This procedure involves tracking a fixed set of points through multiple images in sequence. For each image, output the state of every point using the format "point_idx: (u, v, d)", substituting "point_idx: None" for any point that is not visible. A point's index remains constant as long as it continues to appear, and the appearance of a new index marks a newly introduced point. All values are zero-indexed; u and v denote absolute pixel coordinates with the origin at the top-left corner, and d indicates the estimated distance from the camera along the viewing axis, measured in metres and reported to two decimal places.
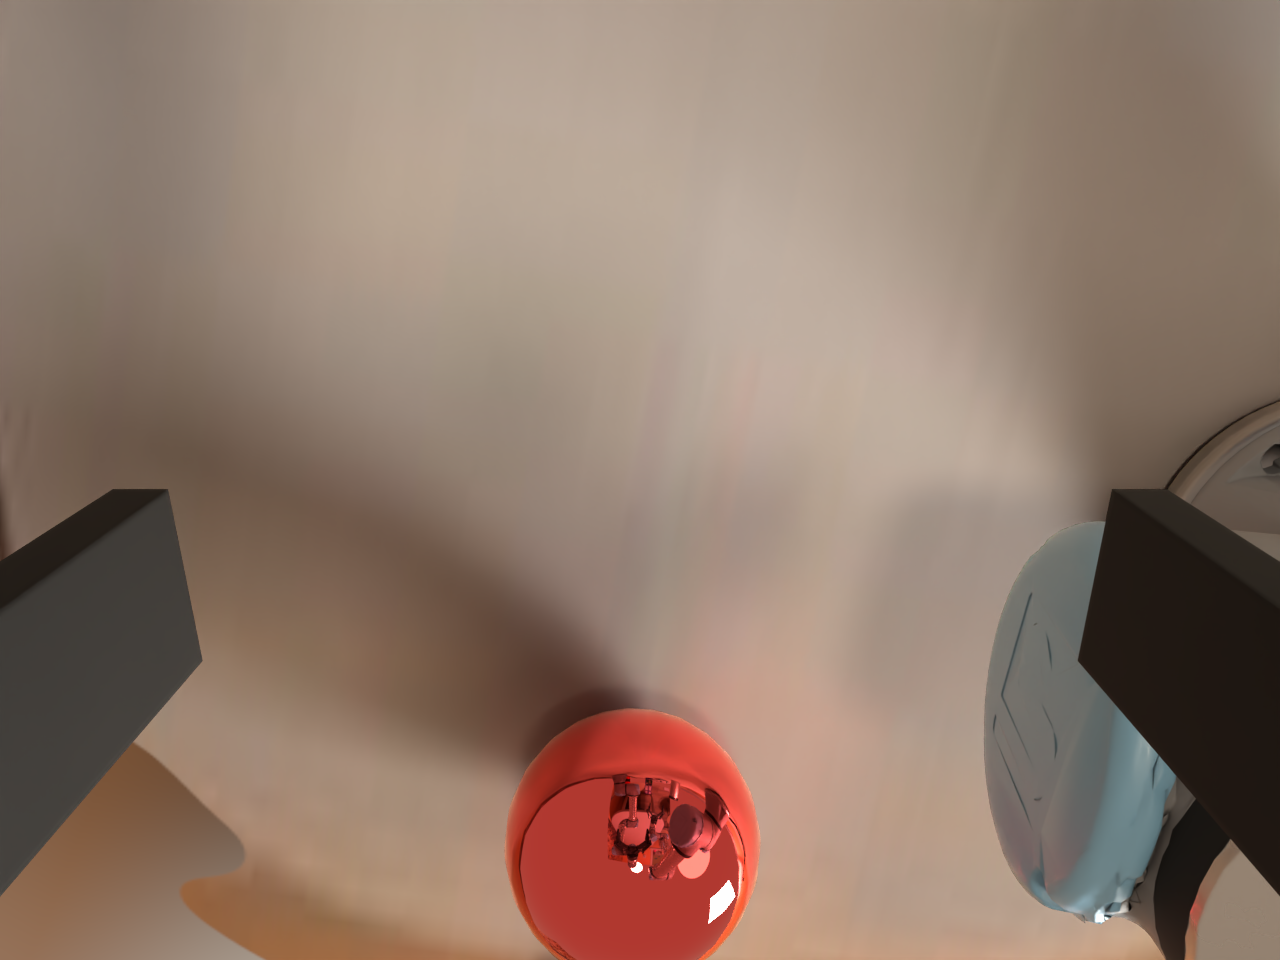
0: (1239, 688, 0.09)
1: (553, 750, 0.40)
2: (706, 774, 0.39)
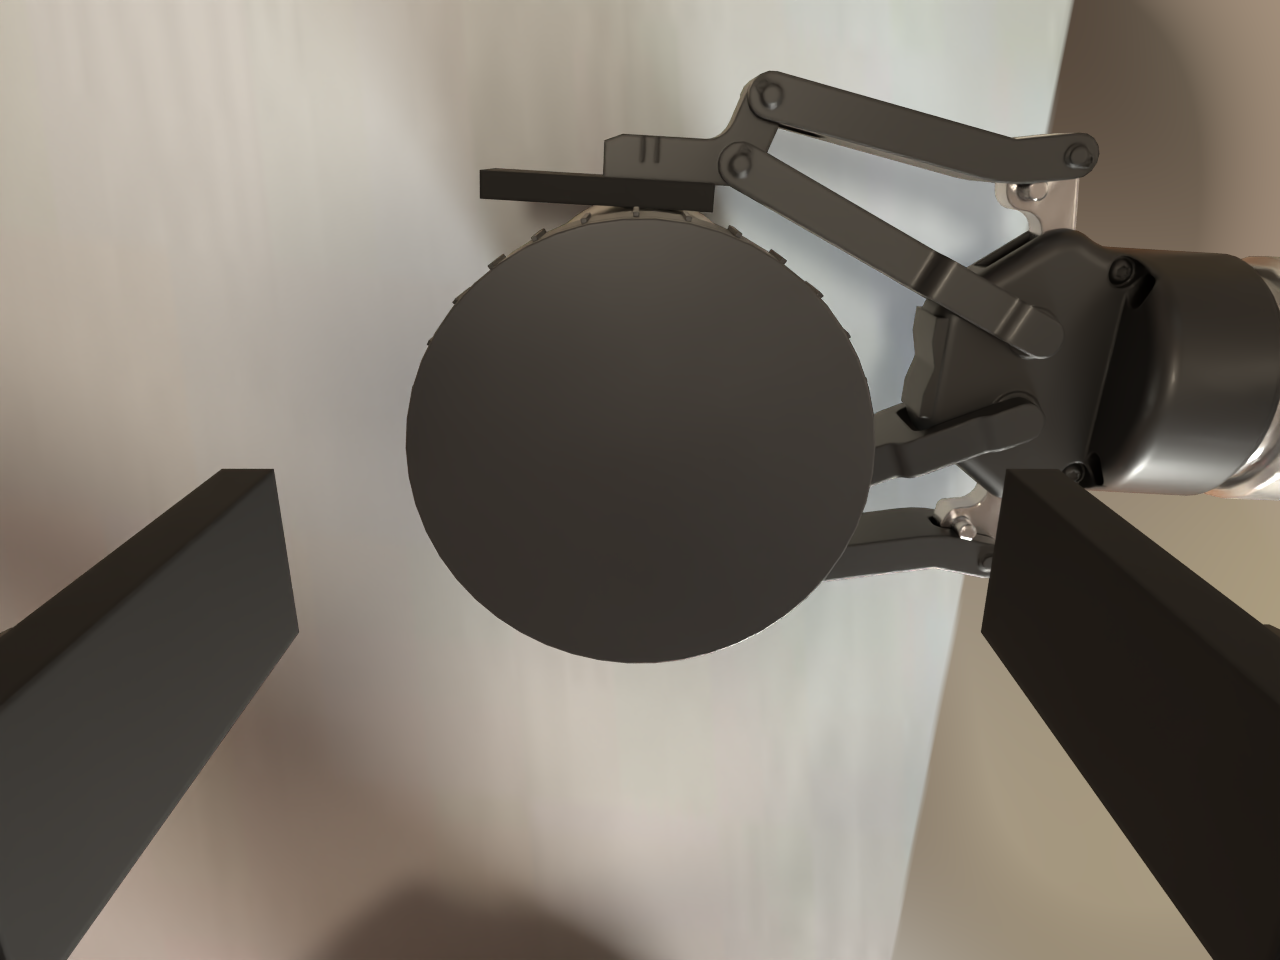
0: (1098, 648, 0.10)
1: None
2: None
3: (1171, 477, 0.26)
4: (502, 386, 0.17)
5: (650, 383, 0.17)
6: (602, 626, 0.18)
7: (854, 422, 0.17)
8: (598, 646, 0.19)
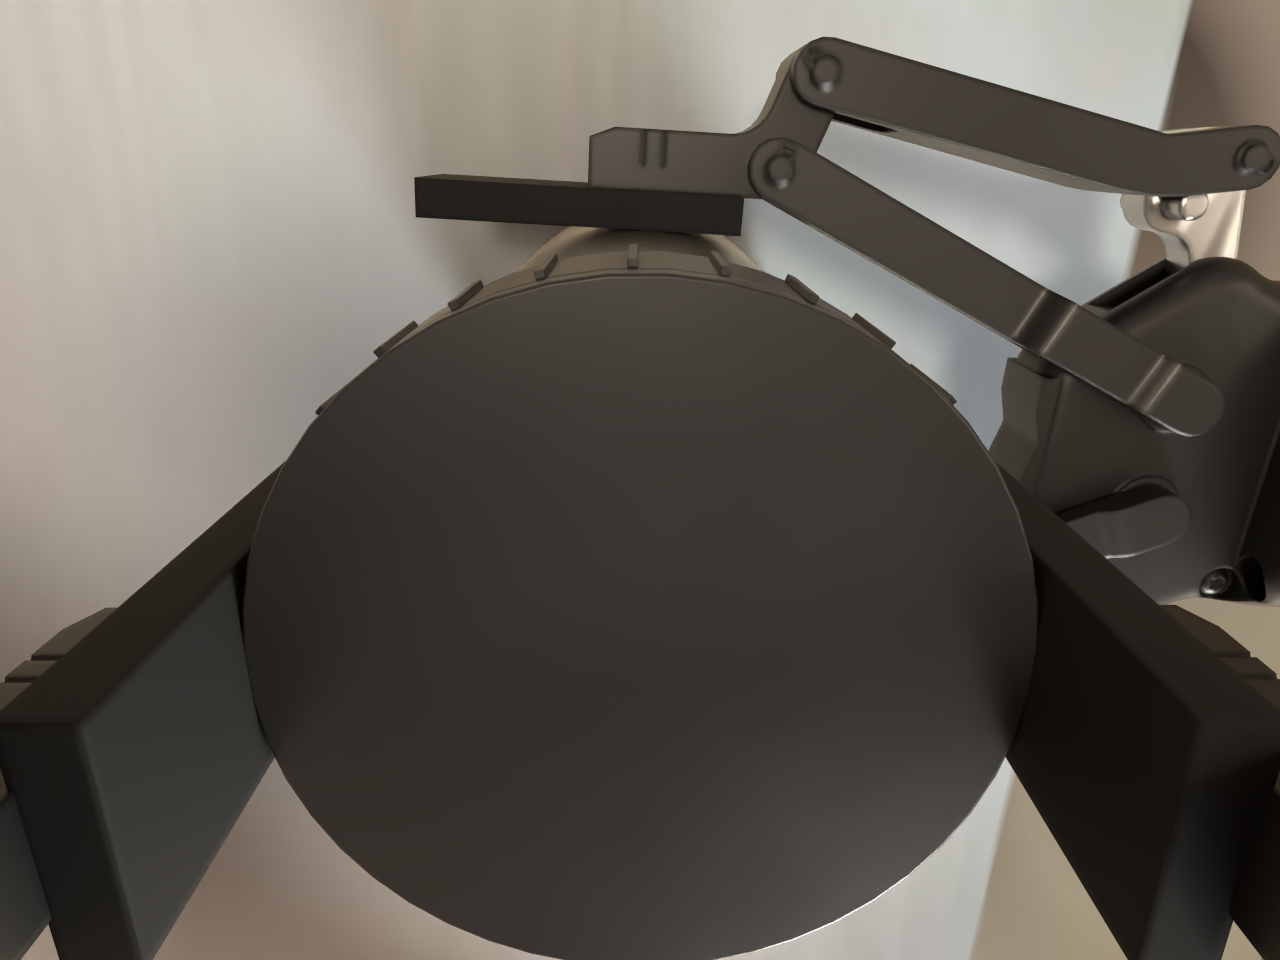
0: None
1: None
2: None
3: None
4: (402, 556, 0.10)
5: (657, 551, 0.10)
6: (579, 915, 0.11)
7: (1004, 613, 0.10)
8: (573, 943, 0.12)
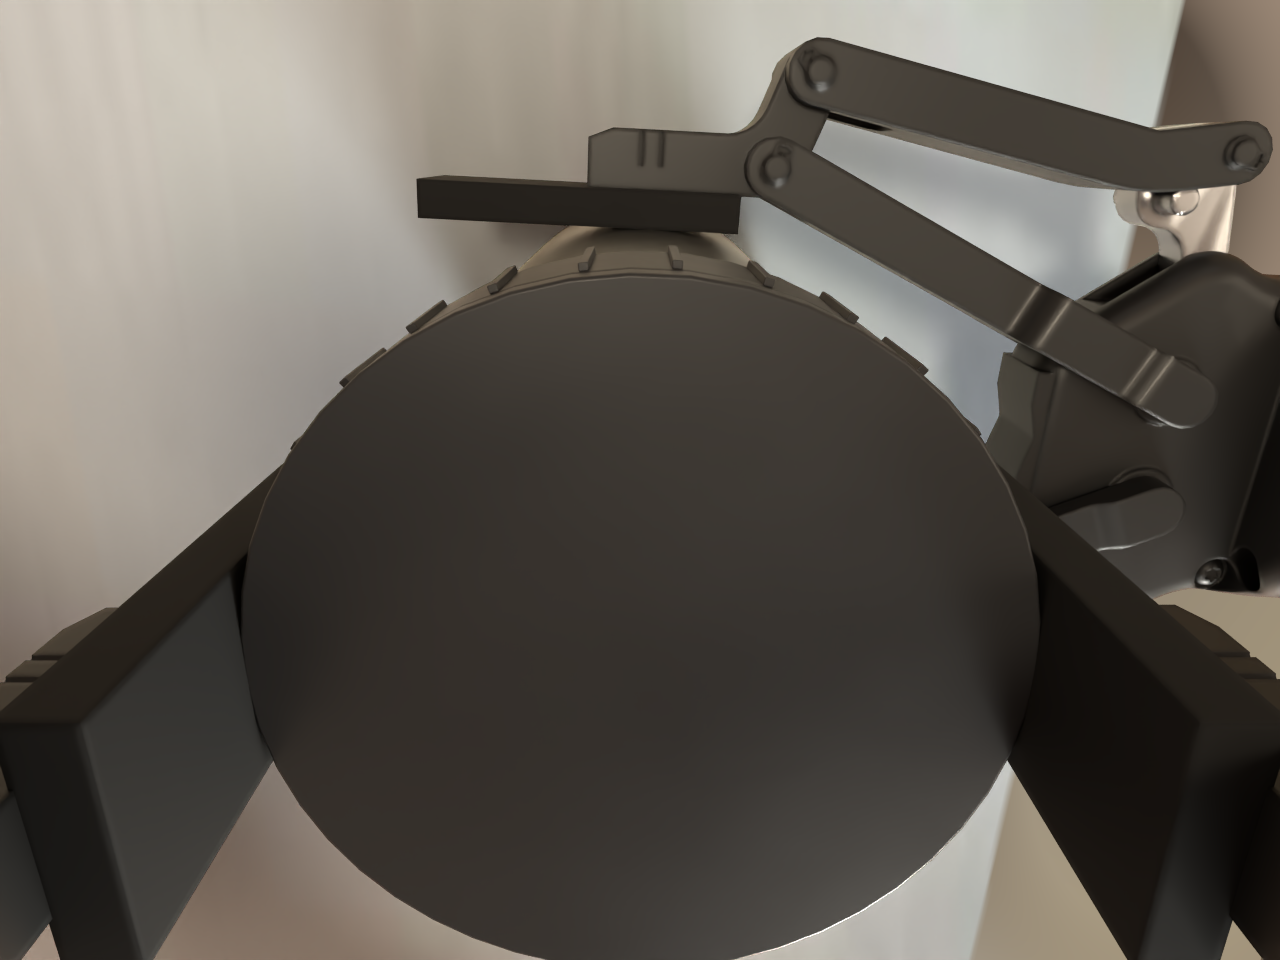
0: None
1: None
2: None
3: None
4: (566, 872, 0.11)
5: (503, 688, 0.10)
6: (964, 676, 0.10)
7: (474, 347, 0.09)
8: (1007, 675, 0.10)
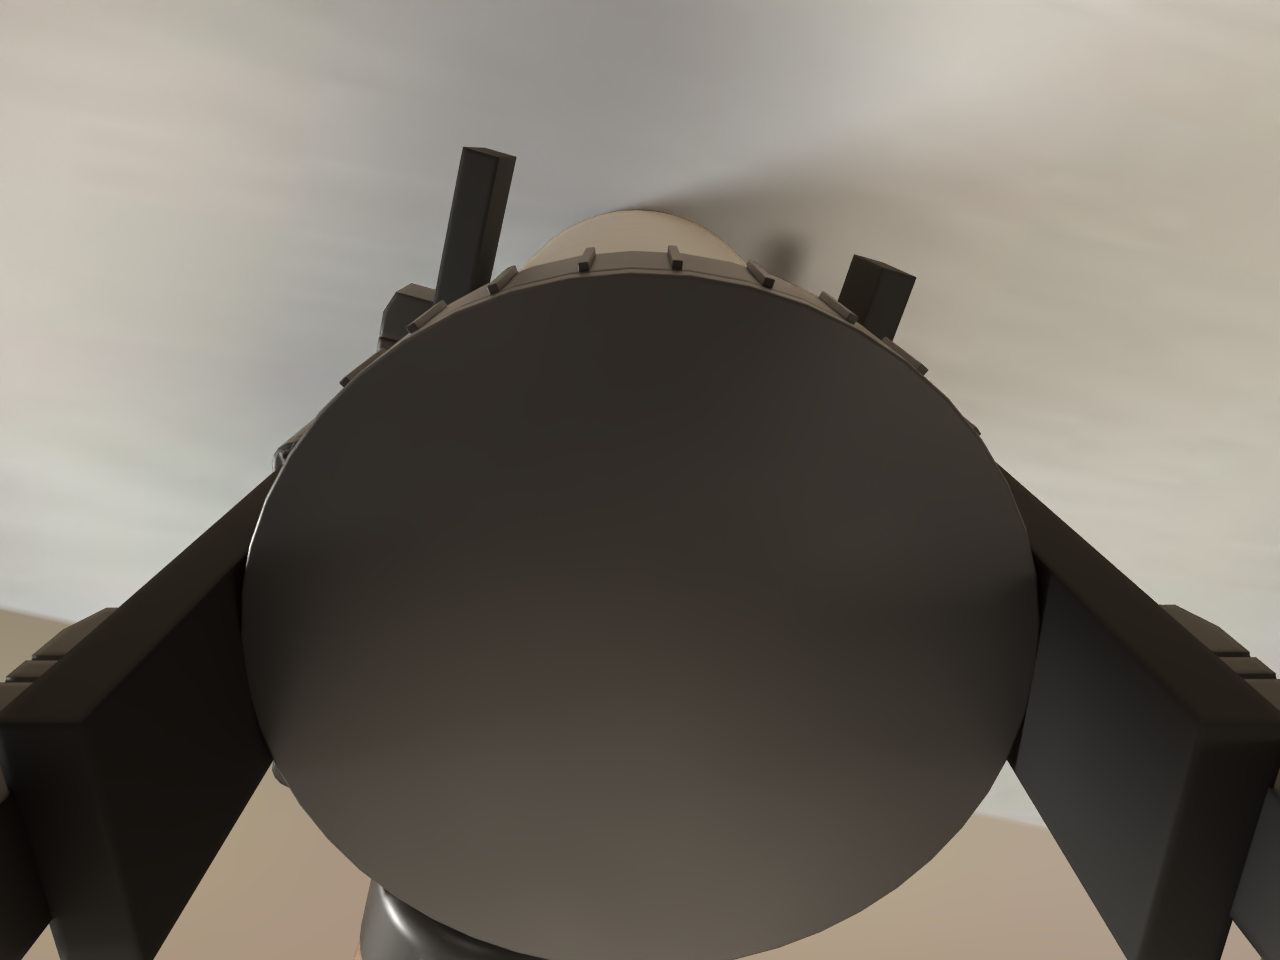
0: None
1: None
2: None
3: None
4: (566, 871, 0.11)
5: (504, 687, 0.10)
6: (964, 676, 0.10)
7: (474, 347, 0.09)
8: (1006, 675, 0.10)
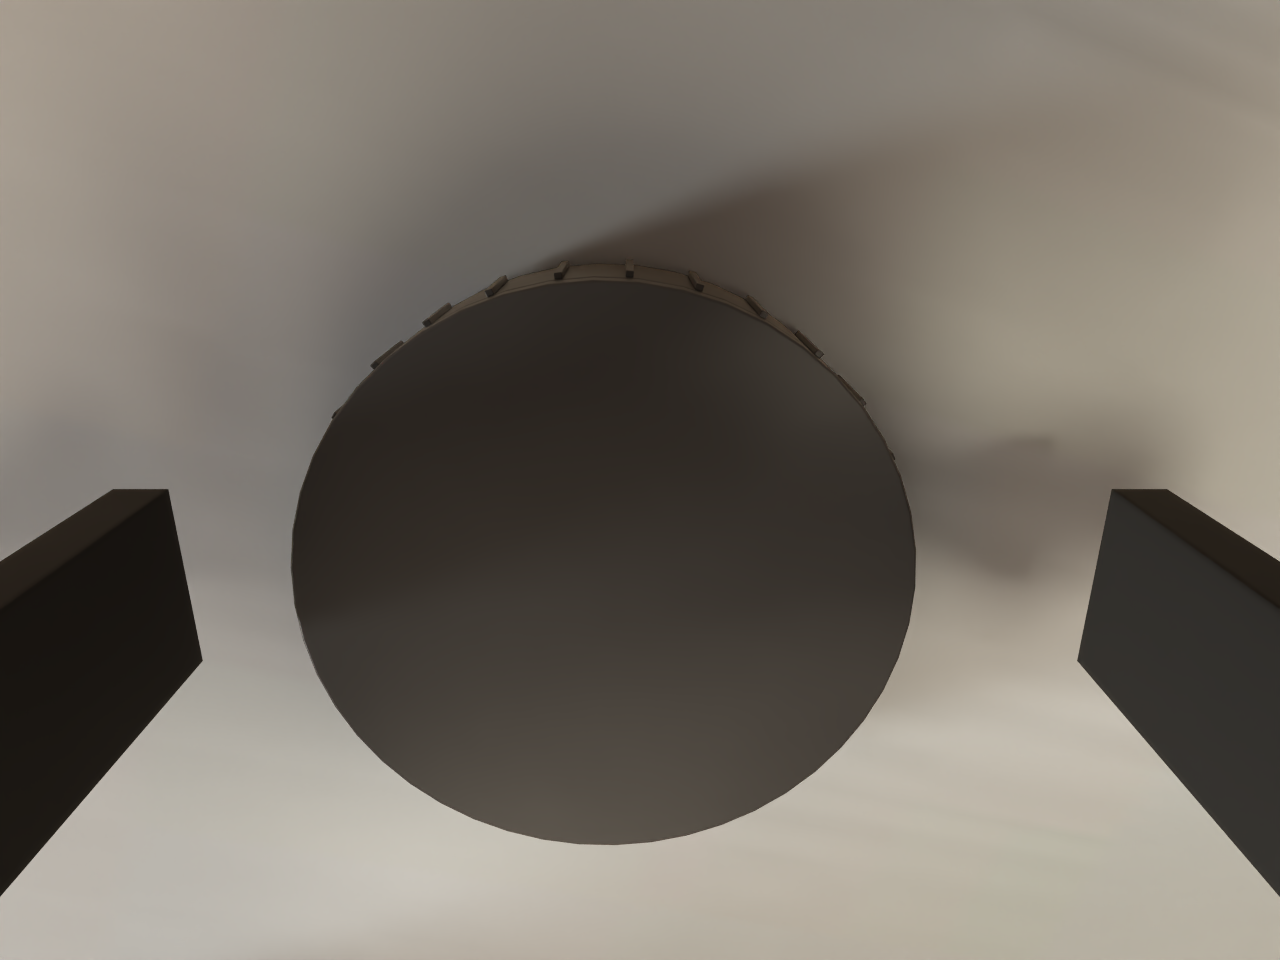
0: (1239, 688, 0.09)
1: None
2: None
3: None
4: (549, 760, 0.14)
5: (498, 606, 0.13)
6: (859, 594, 0.13)
7: (475, 336, 0.12)
8: (892, 593, 0.13)
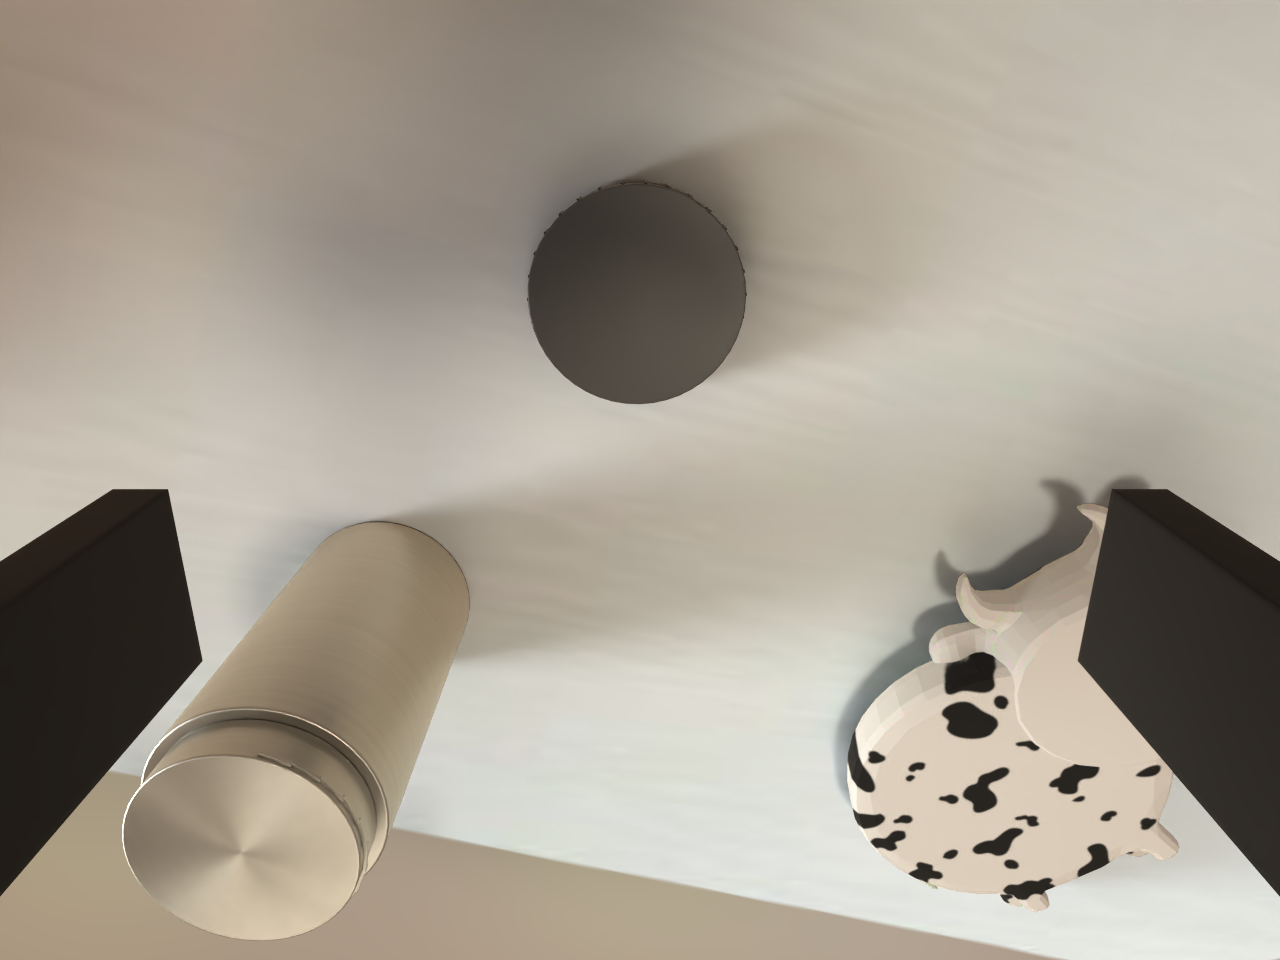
0: (1240, 689, 0.09)
1: None
2: None
3: None
4: (615, 366, 0.38)
5: (599, 302, 0.37)
6: (726, 298, 0.37)
7: (595, 202, 0.35)
8: (737, 298, 0.37)
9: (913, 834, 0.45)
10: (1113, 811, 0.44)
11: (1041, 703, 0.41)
